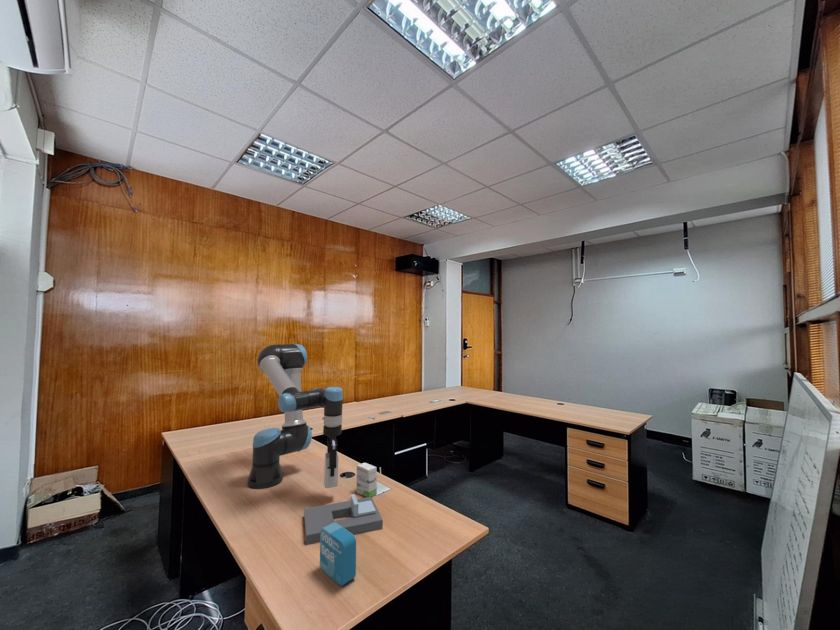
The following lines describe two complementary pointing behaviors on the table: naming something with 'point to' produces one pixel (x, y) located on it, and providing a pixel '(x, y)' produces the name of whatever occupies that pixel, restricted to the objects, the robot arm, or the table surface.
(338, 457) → the plug
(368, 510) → the light blue l-shaped block
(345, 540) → the data package
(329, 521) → the socket block
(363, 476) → the ink box
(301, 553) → the table surface
